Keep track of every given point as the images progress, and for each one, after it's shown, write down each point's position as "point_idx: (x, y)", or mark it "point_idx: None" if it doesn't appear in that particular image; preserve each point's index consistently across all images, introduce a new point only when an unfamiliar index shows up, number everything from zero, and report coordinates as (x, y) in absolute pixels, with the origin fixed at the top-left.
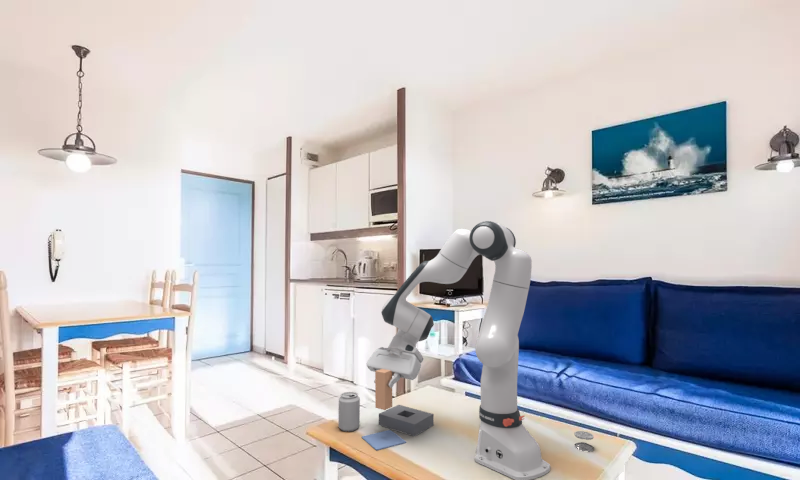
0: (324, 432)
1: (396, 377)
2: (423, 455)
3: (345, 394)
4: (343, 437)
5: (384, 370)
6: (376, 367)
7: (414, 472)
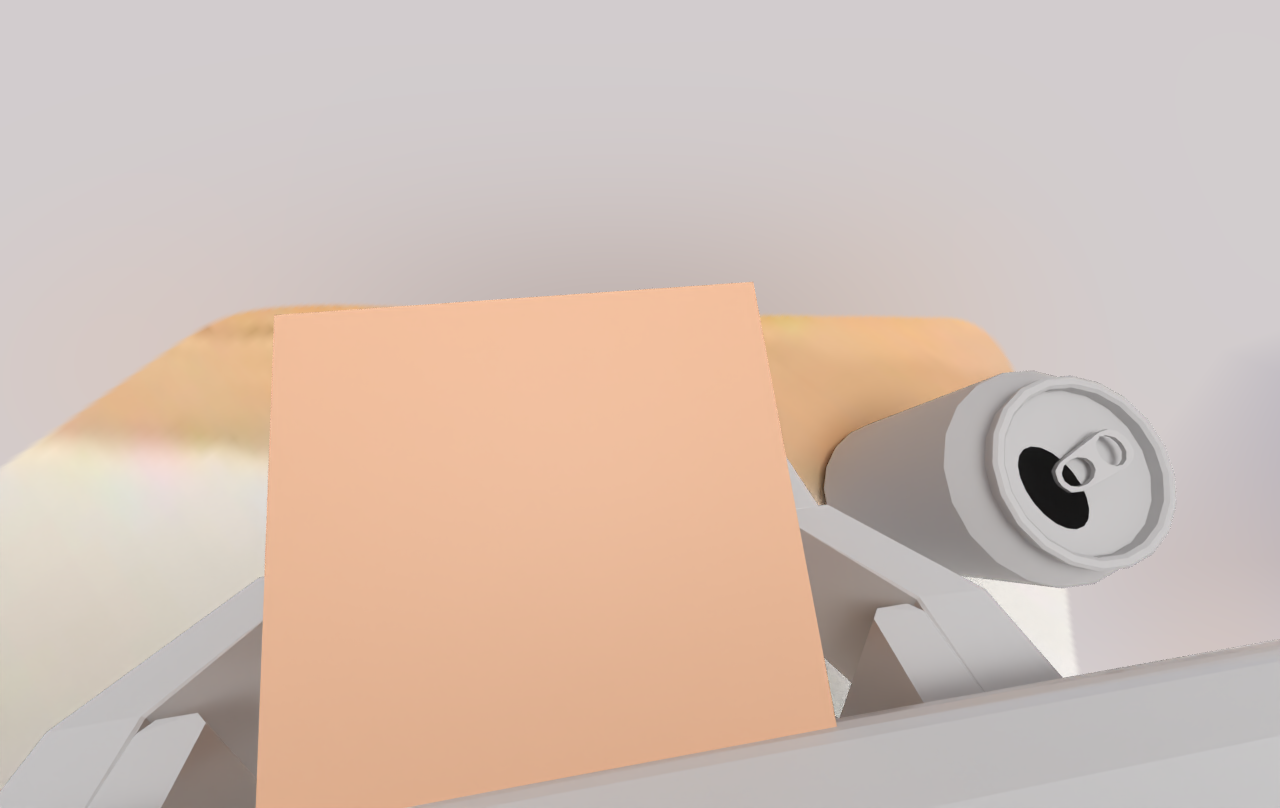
0: (920, 350)
1: (90, 730)
2: (229, 561)
3: (1102, 431)
4: (790, 382)
5: (544, 584)
6: (1152, 674)
7: (160, 367)
